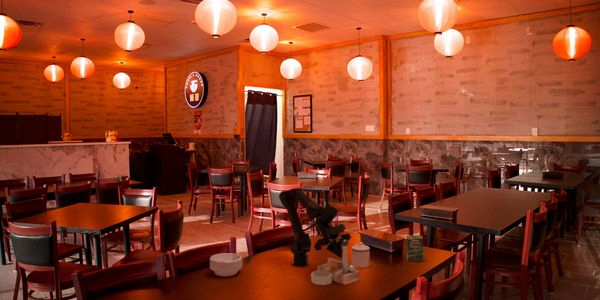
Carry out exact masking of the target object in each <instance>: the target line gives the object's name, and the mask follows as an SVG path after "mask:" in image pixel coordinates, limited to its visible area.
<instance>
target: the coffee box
mask: <svg viewBox="0 0 600 300" xmlns="http://www.w3.org/2000/svg"><path fill="white" fill-rule="evenodd" d="M423 239H424V237H423V235H422V234H421V235H420V234H419V235H418V234H417V235H413V234H412V235H410V234H409V235H406V260H407V262H424V241H423Z"/></svg>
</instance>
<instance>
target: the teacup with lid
mask: <svg viewBox="0 0 600 300" xmlns="http://www.w3.org/2000/svg"><path fill="white" fill-rule="evenodd" d="M370 250H371V248H370V247H369V246H368V245H366V244H364V242H362V241H359V242H358V243H357V244H355V245H353V246H352V247H351V264H354V265H355V268H357V269H365V268H369V267H370V265H371V263H370V259H371V258H370V257H371V256H370V252H371V251H370Z"/></svg>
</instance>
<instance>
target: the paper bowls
mask: <svg viewBox="0 0 600 300" xmlns="http://www.w3.org/2000/svg"><path fill="white" fill-rule="evenodd" d="M209 268H210V270H211V271H214V274H215V275H217V276H220V277H231V276H234V275H236V274H237V273H238V271H240V270H241V269H242V268H243V257H242V255H241V254H237V253H232V252H231V253H230V252H229V253H228V252H227V253H225V252H224V253H218V254H213V255H211V256H210V258H209Z"/></svg>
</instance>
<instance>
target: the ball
mask: <svg viewBox="0 0 600 300" xmlns="http://www.w3.org/2000/svg"><path fill="white" fill-rule="evenodd" d="M329 267H330V268H332V269H333V268H335V267H336V262H335V261H330V262H329Z"/></svg>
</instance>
